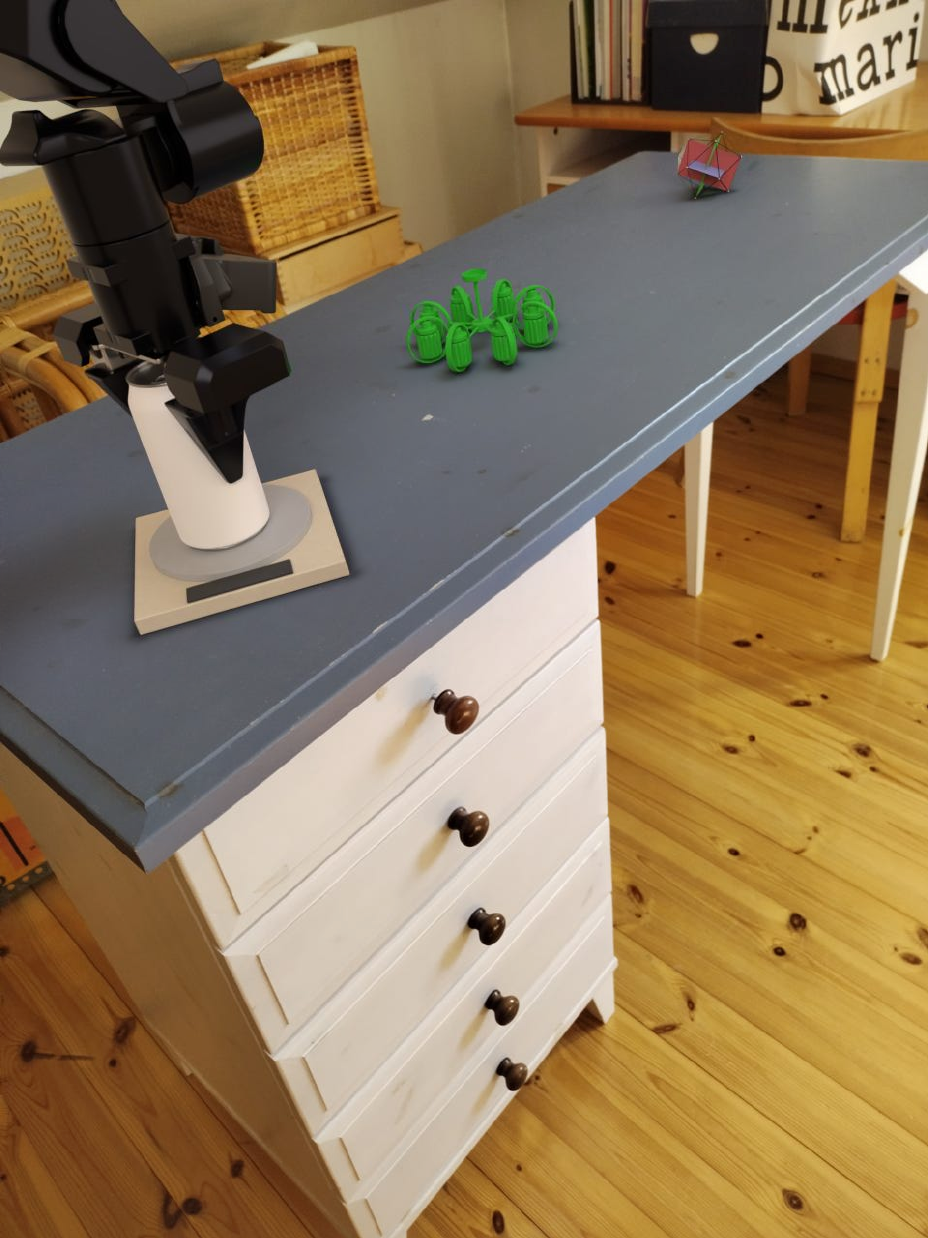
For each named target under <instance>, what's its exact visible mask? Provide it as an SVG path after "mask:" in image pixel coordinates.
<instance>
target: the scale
mask: <svg viewBox="0 0 928 1238" xmlns="http://www.w3.org/2000/svg"><path fill="white" fill-rule="evenodd" d="M261 485H262V488H263V491H264V494H265V498H266V501H267V504H268V508H269V518H268V520H267V522H266V525H265V526H264V528H263V529H262V530H261V531H260V532H259V533H258V534H257V535H256V536H254V537H253V538H251V539H250V540H248V541H246V542H244V543H242V544H240V545H237V546H234V547H231V548H227V549H223V550H216V551H202V550H197V549H194V548H192V547H190V546H188V545H186V544H185V543H183V542H182V540H181V539H180V537H179V534H178V532H177V530H176V527H175V525H174V522H173V520H172V517H171V514H170V512H169V509H168V508H167V509H164V510H159V511H158V512H153V513H149V514H145V515H143V516H142V515H141V516H138V517H136V518H135V543H134V544H135V545H134V546H135V549H134V609H133V610H134V611H133V612H134V614H133V615H134V616H133V619H134V620H133V622H134V624H135V627H136V629H137V630H138V633H139V634H140V635H146V634H149V633H153V632H157V631H159V630H163V629H166V628H171V627H174V626H177V625H181V624H184V623H188V622H191V621H195V620H198V619H201V618H204V617H208V616H211V615H215V614H218V613H223V612H226V611H230V610H233V609H236V608H240V607H243V606H246V605H250V604H253V603H257V602H260V601H263V600H268V599H271V598H275V597H278V596H281V595H285V594H288V593H291V592H295V591H299V590H301V589H305V588H309V587H312V586H315V585H316V586H317V585H320V584H323V583H326V582H329V581H330V582H331V581H333V580H337V579H340V578H343V577H348V576H349V575H350V569H349V567H348V563H347V560H346V557H345V554H344V550H343V548H342V544H341V542H340V539H339V536H338V533H337V530H336V527H335V524H334V520H333V517H332V515H331V512H330V509H329V506H328V503H327V500H326V496H325V494H324V490H323V488H322V484H321V481H320V479H319V475H318V472H317V469H316V468H314V469H311V470H306V471H303V472H300V473H296V474H292V475H289V476H285V477H280V478H278V479H274V480H270V481H266V482H263V483H262V482H261Z"/></svg>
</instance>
